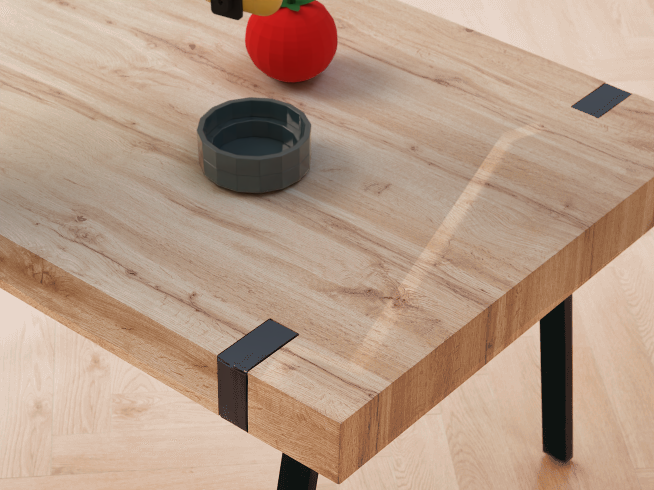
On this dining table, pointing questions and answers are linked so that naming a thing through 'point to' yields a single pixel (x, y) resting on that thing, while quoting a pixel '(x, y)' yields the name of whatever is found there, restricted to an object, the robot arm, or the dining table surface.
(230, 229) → the dining table surface
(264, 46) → the tomato
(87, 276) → the dining table surface
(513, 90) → the dining table surface
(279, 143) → the bowl
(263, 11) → the yellow capsule
